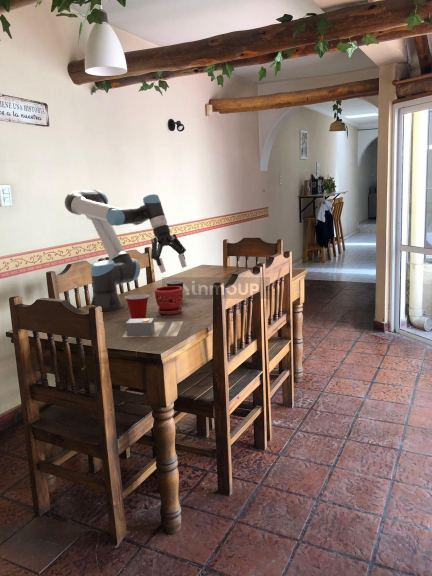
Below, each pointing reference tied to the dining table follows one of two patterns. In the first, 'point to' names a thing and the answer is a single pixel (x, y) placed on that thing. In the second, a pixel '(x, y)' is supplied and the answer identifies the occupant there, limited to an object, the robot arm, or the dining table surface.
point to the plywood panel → (163, 329)
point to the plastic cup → (137, 305)
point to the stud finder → (140, 327)
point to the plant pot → (169, 299)
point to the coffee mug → (175, 283)
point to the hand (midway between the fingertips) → (174, 269)
